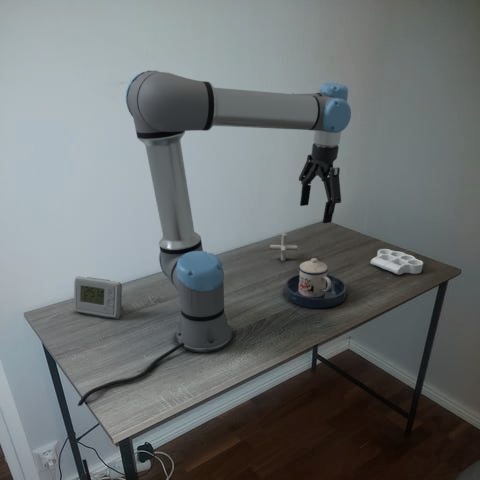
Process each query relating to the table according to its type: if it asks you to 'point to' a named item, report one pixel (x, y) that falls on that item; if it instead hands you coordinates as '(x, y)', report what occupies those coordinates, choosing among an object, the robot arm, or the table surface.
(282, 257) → the pipe connector
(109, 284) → the digital clock
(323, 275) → the teacup with lid
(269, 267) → the table surface
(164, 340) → the table surface
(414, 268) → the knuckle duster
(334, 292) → the bowl
